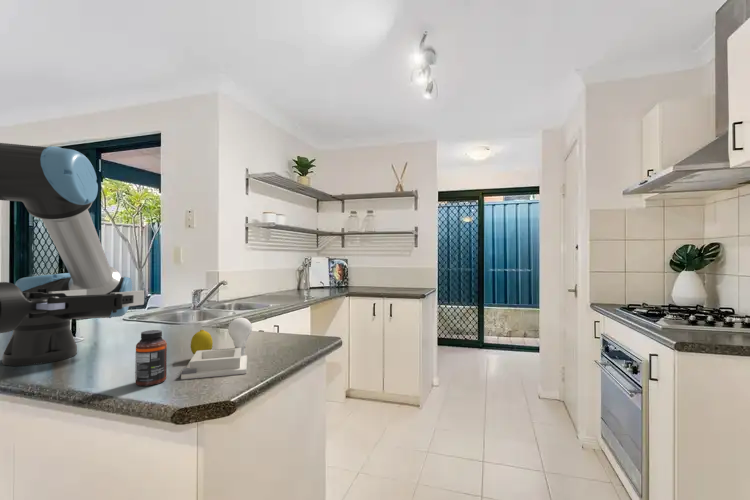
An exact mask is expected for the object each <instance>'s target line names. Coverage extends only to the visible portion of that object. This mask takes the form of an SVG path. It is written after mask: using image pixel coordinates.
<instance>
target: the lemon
mask: <svg viewBox="0 0 750 500" xmlns="http://www.w3.org/2000/svg"><path fill="white" fill-rule="evenodd" d="M213 343H214V341H213V338H212V335H211V334H210V332H208V331H206V330H204V329H200V330H199V331H197V332H195V333H194V334H193V336H192V338H191V339H190V350H191V351H190V352H192V354H193V355H194V354H195V353H196V351H200V350H213V349H212V348H213Z"/></svg>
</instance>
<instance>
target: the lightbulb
mask: <svg viewBox="0 0 750 500" xmlns="http://www.w3.org/2000/svg"><path fill="white" fill-rule="evenodd" d="M227 330H228V335H229V337H230V338H231V340H232V342H233V346H234V348H241V356H242V355H246V344H247V340H248V338H250V335H251V334H252V331H253V326H252V323H251V322H250V320H249V319H247V318H245V317H236V318H233V320H231V321H230V322H229V325H228V328H227Z"/></svg>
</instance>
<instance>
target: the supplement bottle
mask: <svg viewBox="0 0 750 500" xmlns="http://www.w3.org/2000/svg"><path fill="white" fill-rule="evenodd" d="M167 346H168V344H167V341H166V339H164V338H163V331H162V330H161V329H151V330H144V331H142V332H140V340H139V341H138V342H137V344H136V345H135V368H134V369H135V372H134V373H135V379H134V380H135V384H136V385H137V386H139V387H149V386H155V385H158V384H161V383H163V382H165V381H166V380H167V374H168V373H167V368H168V367H167V366H168V365H167V359H168V358H167V357H168V354H167V351H168V348H167Z"/></svg>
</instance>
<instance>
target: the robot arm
mask: <svg viewBox="0 0 750 500" xmlns="http://www.w3.org/2000/svg"><path fill="white" fill-rule="evenodd" d="M97 180H98V178H97V173H96V171H95V168H94V166H93V165H92V163H91V161H90V160H89V158H88V157H86V155H85V154H83V153H81V152H80V151H77V150H75V149H71V148H65V147H64V148H62V147H60V146H54V145H53V146H52V145H50V146H47V147H46V146H39V145H30V144H29V145H28V144H17V143H6V142H5V143H4V142H0V201H9V202H10V201H11V202H22V203H23V205H24V207H25V208H26V210H27V212H28V214H30V215H31V216H32V217H34V218H37V219H39V220H42V222H43V224H44V227H45V228H46V230H47V232H48V234H49V236H50V238H51V240H52V242H53V244H54V246H55V247H56V250H57V253H58V254H59V256H60V259H61V260H62V262H63V264H64V266H65V269H66V270H67V272H64V273H62V272H61V273H55V274H54V273H53V274H44V275H35V276H33V275H32V276H26V277H22V278H19V279H18V280H16V281H15V283H12V282H8V281H0V334H4V333H10V332H12V334H11V336H10V338H9V341H8V343H7V345H6V347H5V350H4V352H3V354H2V365H4V366H13V367H14V366H18V367H19V366H29V365H31V366H32V365H39V364H41V365H42V364H46V363H53V362H57V361H63V360H66V359H69V358H73V357H75V356H76V355H77V354H78V345H77V343H76V341H75V338H74V335H73V333H72V330H71V320H76V319H77V320H78V319H81V320H82V319H111V318H118V317H119V318H120V317H123V316H125V314H127V313H128V310H129V308H130V307H137V306H143V305H145V289H144V290H143V289H142V290H133V281H132V279H131V278H130V277H129V276H128V277H126V276H123V277H121V273H120V272H119V271H118V270H117V269H116V268H115V267H112V266H110V264H109V261H108V258H107V256H106V253H105V250H104V249H103V246H102V243H101V240H100V237H99V235H98V232H97V229H96V227H95V225H94V223H93V219H92V216H91V213H90V212H89V211H90V210H89V209H90V208H91V206H92V204H93V203H94V201H95V200H96V198H97V196H98V193H99V192H98V191H99V184H98V182H97Z"/></svg>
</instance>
